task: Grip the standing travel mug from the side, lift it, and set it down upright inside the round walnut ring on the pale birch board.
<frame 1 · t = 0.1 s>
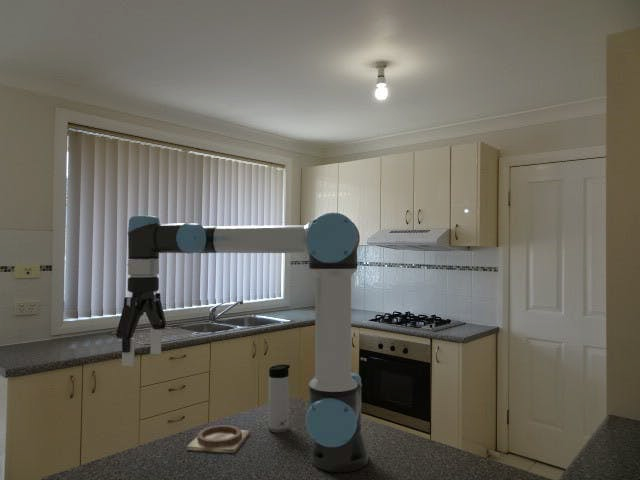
hand: (142, 359, 120), 28 cm above the countertop, tool pointing down, fingers open, 13 cm apart
travel mug: (279, 429, 147), on the countertop
mug stand: (219, 441, 138), on the countertop
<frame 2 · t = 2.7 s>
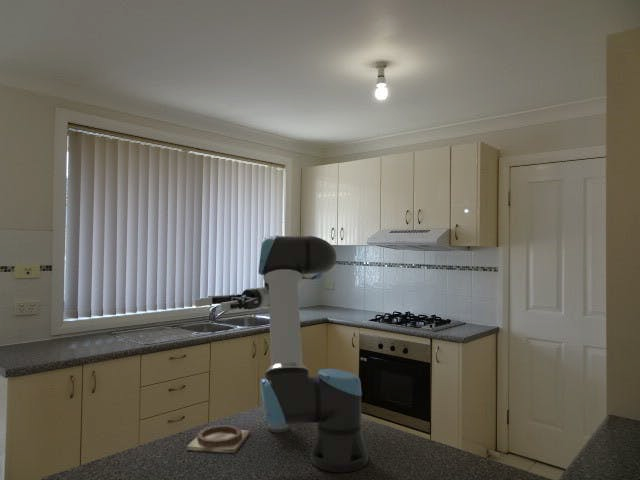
hand: (208, 304, 157), 38 cm above the countertop, tool horizontal, fingers open, 13 cm apart
nothing on the countertop moved.
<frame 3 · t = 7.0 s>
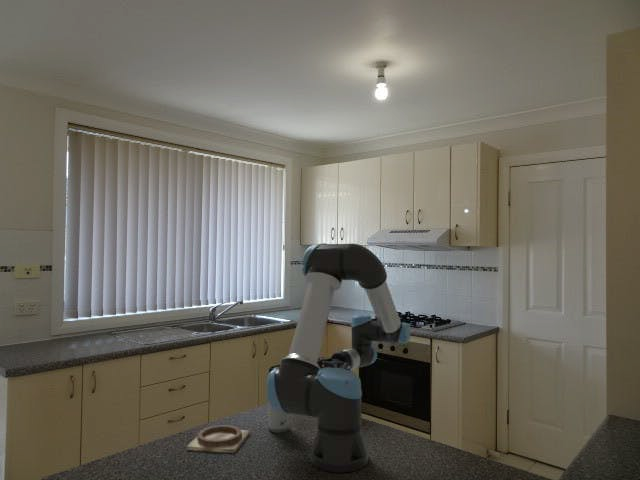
hand: (303, 372, 156), 16 cm above the countertop, tool horizontal, fingers open, 13 cm apart
nothing on the countertop moved.
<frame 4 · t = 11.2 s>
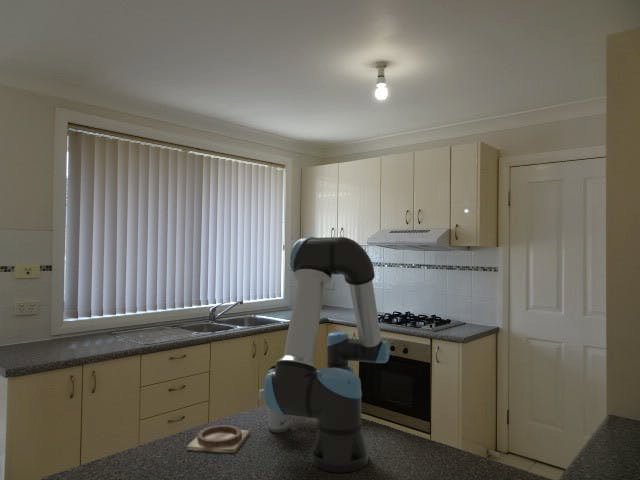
hand: (266, 397, 144), 11 cm above the countertop, tool horizontal, fingers closed on travel mug, 6 cm apart
travel mug: (279, 429, 147), on the countertop, touching gripper
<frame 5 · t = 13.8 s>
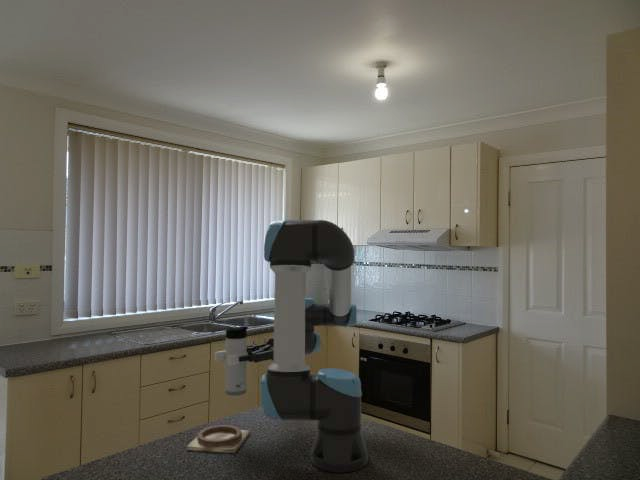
hand: (222, 358, 139), 24 cm above the countertop, tool horizontal, fingers closed on travel mug, 6 cm apart
travel mug: (236, 393, 142), point 13 cm above the countertop, touching gripper
when the fingers open (13 cm above the countertop, at t = 16.7 s): travel mug stays where it is, resting on mug stand.
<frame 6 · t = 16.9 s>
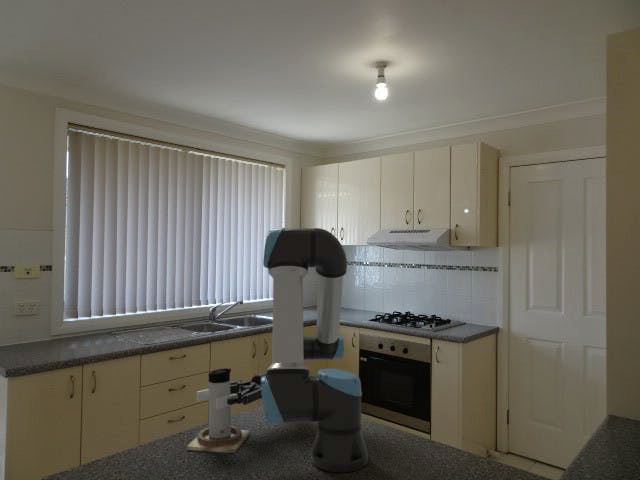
hand: (206, 400, 135), 13 cm above the countertop, tool horizontal, fingers open, 9 cm apart
travel mug: (220, 438, 138), point 1 cm above the countertop, touching mug stand
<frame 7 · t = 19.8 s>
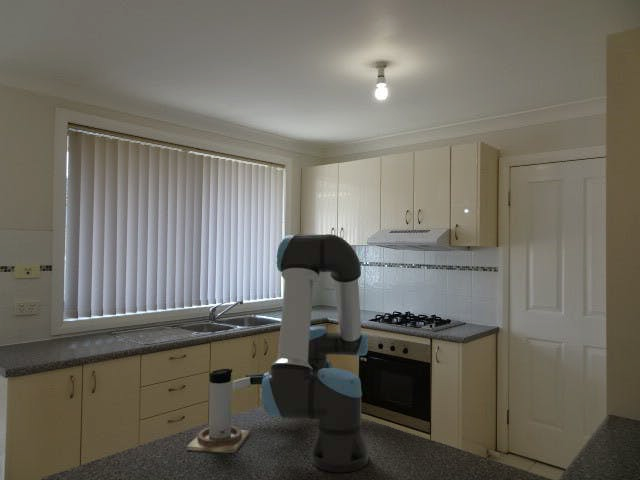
hand: (246, 389, 145), 13 cm above the countertop, tool horizontal, fingers open, 13 cm apart
nothing on the countertop moved.
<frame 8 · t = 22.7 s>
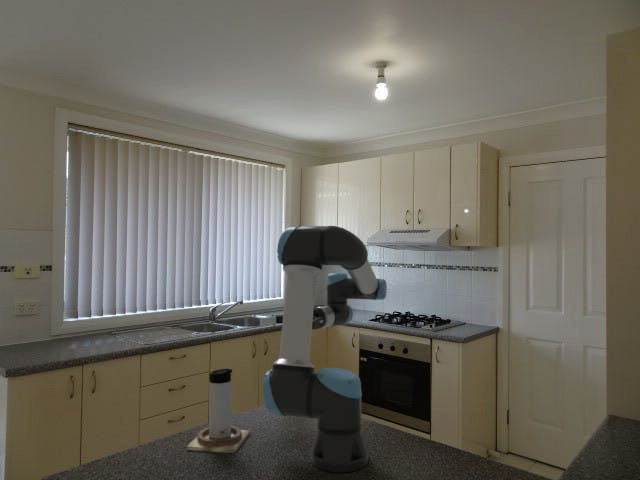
hand: (273, 324, 153), 32 cm above the countertop, tool horizontal, fingers open, 13 cm apart
nothing on the countertop moved.
at the end: travel mug 0.3 cm off-centre on the mug stand, point 0.8 cm above the mug stand's base; travel mug tilted 0°; the gripper is holding nothing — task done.
